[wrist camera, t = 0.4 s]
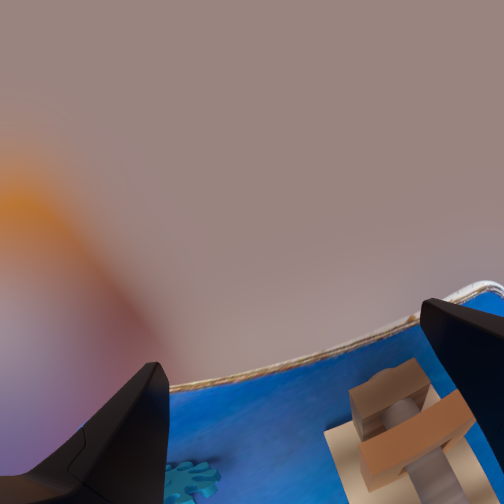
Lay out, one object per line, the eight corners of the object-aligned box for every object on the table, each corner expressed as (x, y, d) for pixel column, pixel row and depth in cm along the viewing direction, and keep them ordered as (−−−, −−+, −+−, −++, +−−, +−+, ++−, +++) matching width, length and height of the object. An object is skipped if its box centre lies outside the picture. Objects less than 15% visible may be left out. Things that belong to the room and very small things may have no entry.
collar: (454, 445, 13) (489, 403, 9) (368, 493, 13) (371, 476, 9) (444, 427, 14) (471, 378, 11) (360, 471, 14) (358, 444, 11)
